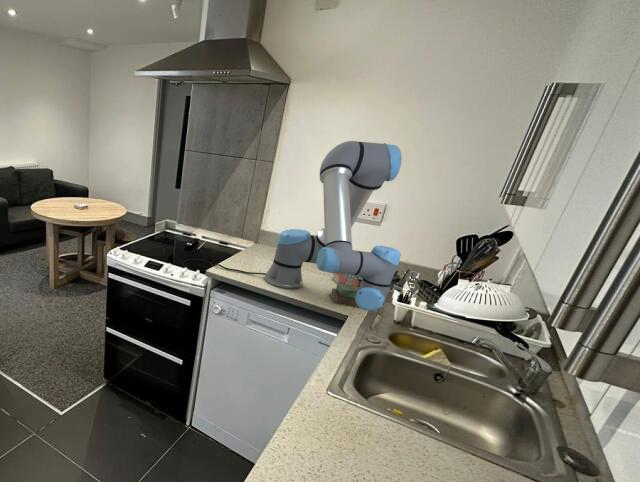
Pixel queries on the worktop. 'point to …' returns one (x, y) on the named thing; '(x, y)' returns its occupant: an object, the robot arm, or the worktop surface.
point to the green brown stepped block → (345, 294)
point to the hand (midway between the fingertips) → (386, 271)
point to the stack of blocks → (347, 279)
